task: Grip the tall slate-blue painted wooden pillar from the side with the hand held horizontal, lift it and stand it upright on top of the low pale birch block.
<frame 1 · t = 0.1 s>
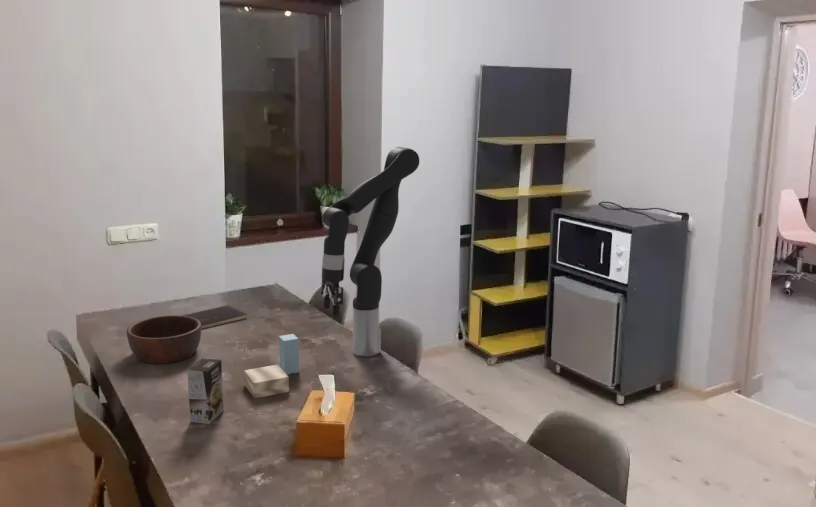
hand: (330, 311, 244), 17 cm above the table, tool pointing down, fingers open, 8 cm apart
birch block: (266, 388, 224), on the table
hardcover book: (212, 321, 287), on the table
blue pillar: (289, 370, 237), on the table
wooden bowl: (166, 354, 251), on the table
coffee box: (207, 416, 205), on the table
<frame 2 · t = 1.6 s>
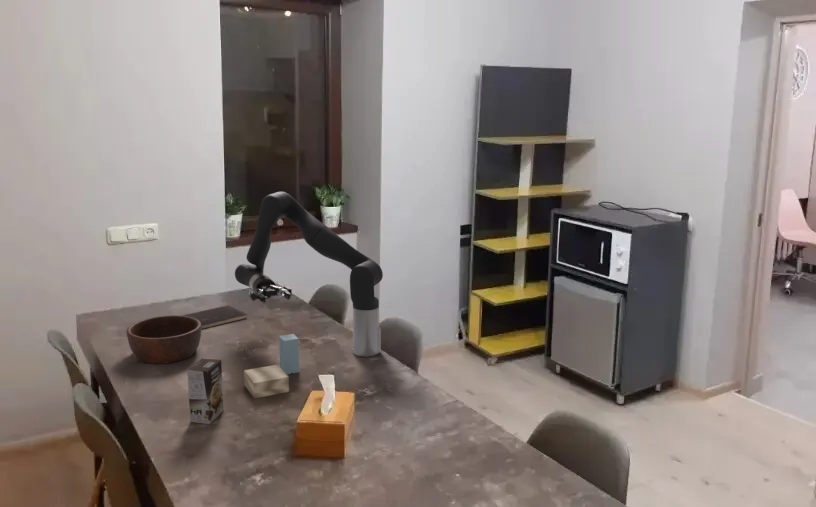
hand: (276, 298, 242), 22 cm above the table, tool horizontal, fingers open, 8 cm apart
nothing on the table moved.
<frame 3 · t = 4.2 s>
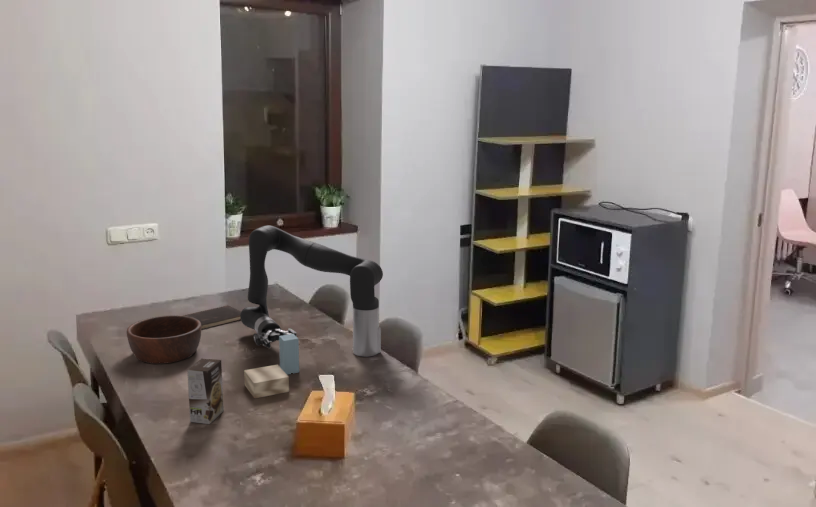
hand: (281, 343, 242), 7 cm above the table, tool horizontal, fingers open, 8 cm apart
nothing on the table moved.
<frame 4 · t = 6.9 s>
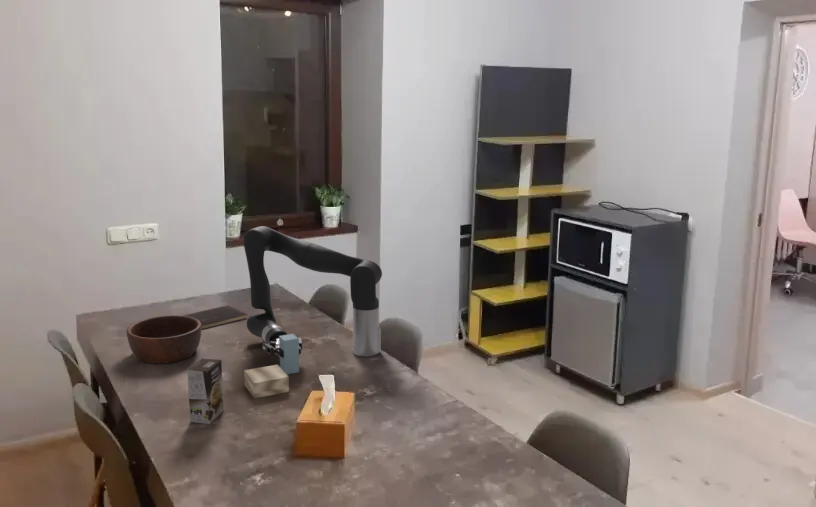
hand: (291, 353, 234), 7 cm above the table, tool horizontal, fingers closed on blue pillar, 5 cm apart
blue pillar: (289, 370, 237), on the table, touching gripper
everything else where it was.
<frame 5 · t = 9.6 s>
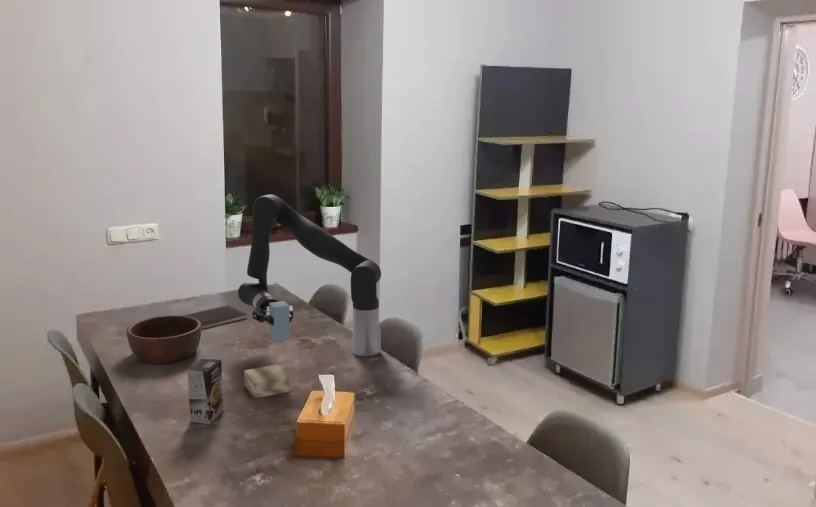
hand: (281, 320, 226), 20 cm above the table, tool horizontal, fingers closed on blue pillar, 5 cm apart
blue pillar: (280, 339, 230), point 13 cm above the table, touching gripper
everything else where it was.
when the fingers open (13 cm above the table, at t = 12.5 s): blue pillar stays where it is, resting on birch block.
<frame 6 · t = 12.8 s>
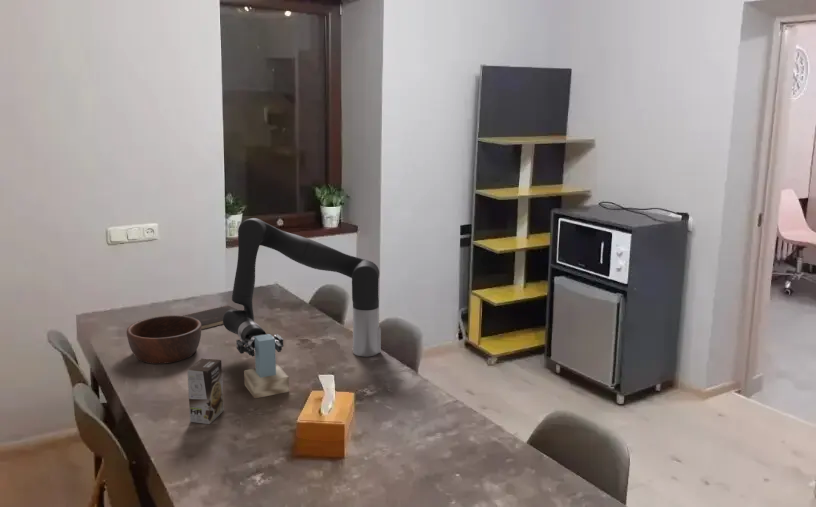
hand: (266, 351, 219), 13 cm above the table, tool horizontal, fingers open, 8 cm apart
blue pillar: (265, 373, 222), point 5 cm above the table, touching birch block
everything else where it was.
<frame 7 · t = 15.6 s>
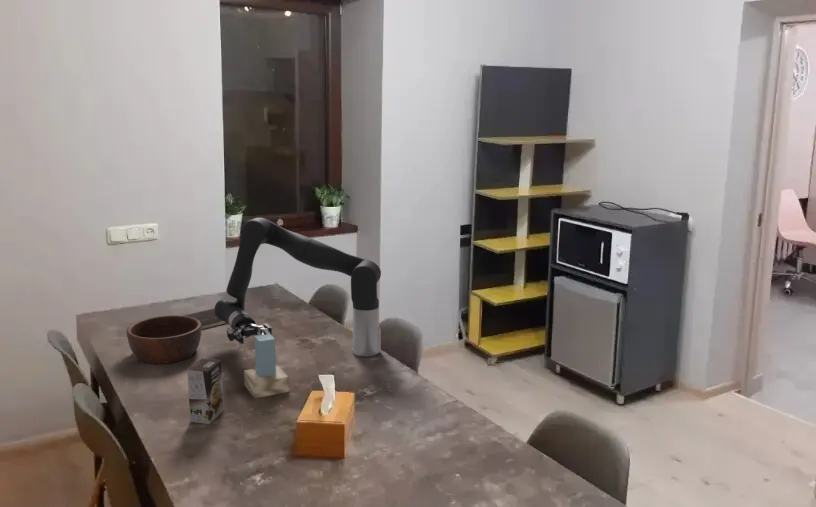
hand: (255, 338, 230), 13 cm above the table, tool horizontal, fingers open, 8 cm apart
nothing on the table moved.
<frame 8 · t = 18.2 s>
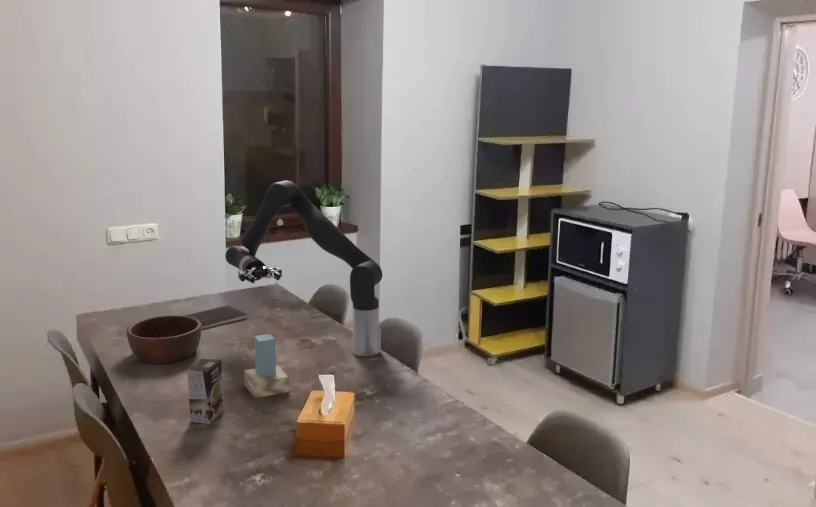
hand: (266, 278, 237), 30 cm above the table, tool horizontal, fingers open, 8 cm apart
nothing on the table moved.
at the end: blue pillar inside the target area on the birch block (0.1 cm from its centre), point 5.0 cm above the birch block's base; blue pillar tilted 0°; the gripper is holding nothing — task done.
